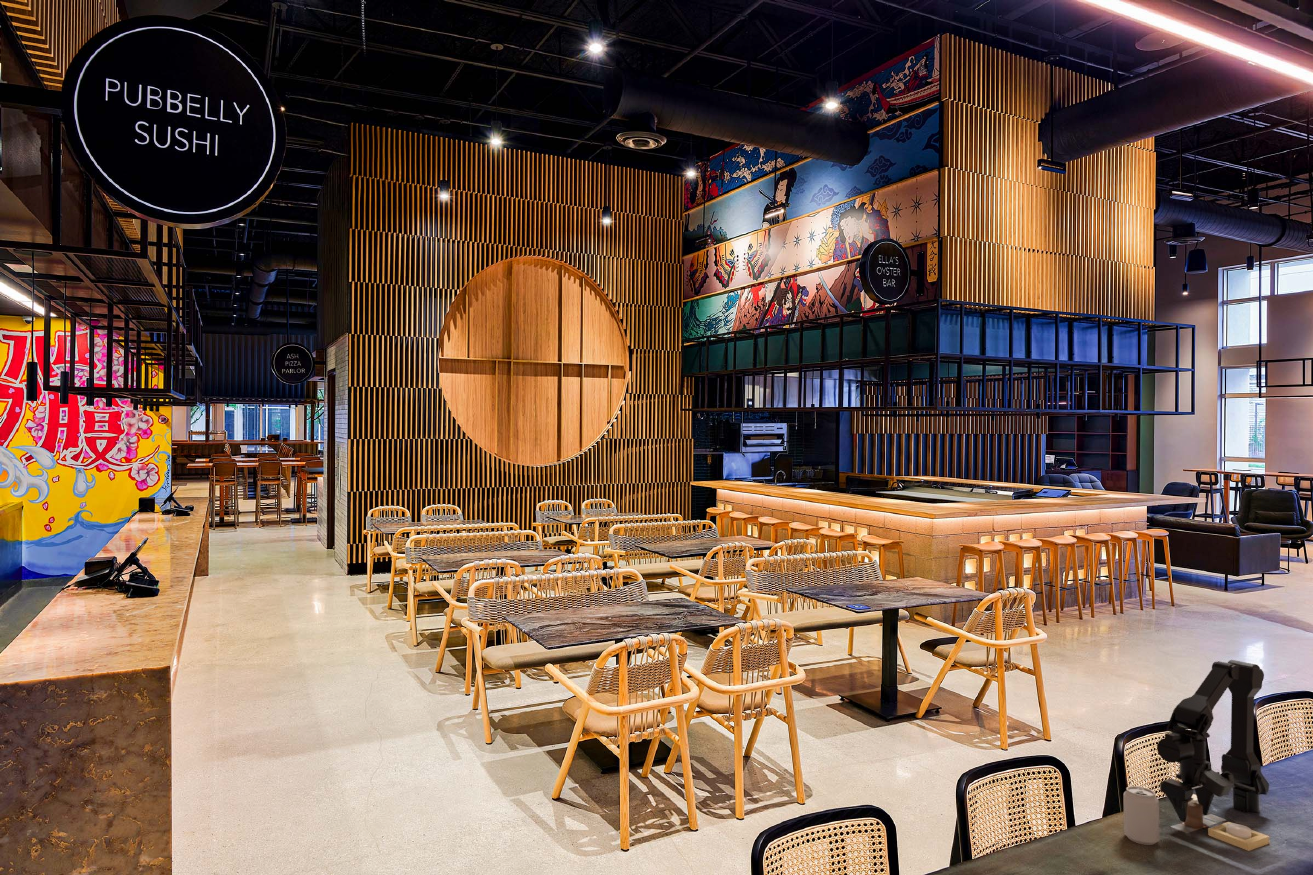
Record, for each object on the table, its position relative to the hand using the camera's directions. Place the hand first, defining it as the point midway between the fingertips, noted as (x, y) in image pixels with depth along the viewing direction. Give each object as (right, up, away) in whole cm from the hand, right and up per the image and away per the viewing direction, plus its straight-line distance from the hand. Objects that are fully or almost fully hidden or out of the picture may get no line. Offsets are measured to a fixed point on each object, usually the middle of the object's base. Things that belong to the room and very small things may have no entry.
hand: (1193, 817), depth 204 cm
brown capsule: (0, -2, 0) cm, 2 cm away
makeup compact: (+2, -3, +1) cm, 3 cm away
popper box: (+6, -2, -8) cm, 10 cm away
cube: (+7, -3, +10) cm, 13 cm away
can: (-17, -2, -7) cm, 19 cm away
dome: (+6, -2, -8) cm, 10 cm away
